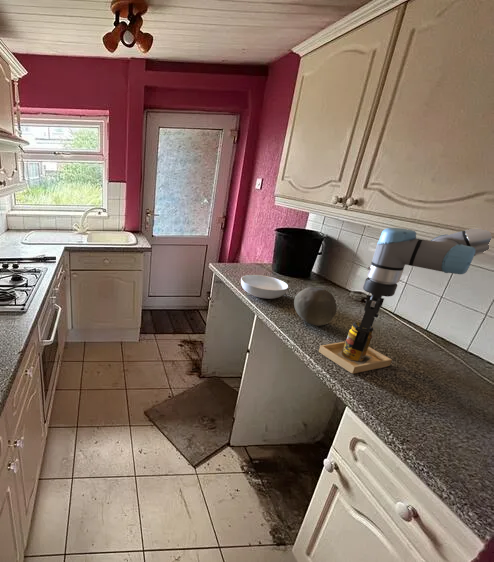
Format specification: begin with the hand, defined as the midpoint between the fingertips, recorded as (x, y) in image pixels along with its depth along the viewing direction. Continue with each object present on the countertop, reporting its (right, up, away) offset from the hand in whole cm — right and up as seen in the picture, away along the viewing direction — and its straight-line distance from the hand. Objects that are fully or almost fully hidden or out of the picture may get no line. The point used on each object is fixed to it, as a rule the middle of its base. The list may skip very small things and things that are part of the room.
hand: (360, 341), depth 101 cm
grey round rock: (-1, +2, +25) cm, 25 cm away
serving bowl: (-9, +13, +51) cm, 53 cm away
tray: (0, -6, +3) cm, 7 cm away
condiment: (0, -6, +3) cm, 7 cm away
